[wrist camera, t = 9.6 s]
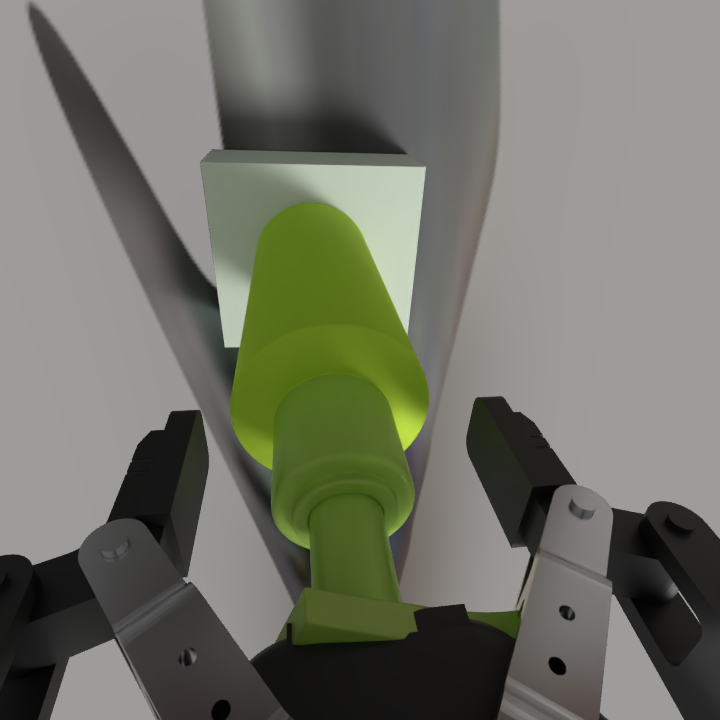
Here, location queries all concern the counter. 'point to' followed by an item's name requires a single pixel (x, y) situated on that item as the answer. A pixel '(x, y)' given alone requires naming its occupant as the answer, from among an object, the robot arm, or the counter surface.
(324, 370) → the soap dispenser
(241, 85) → the counter surface
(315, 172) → the plate
